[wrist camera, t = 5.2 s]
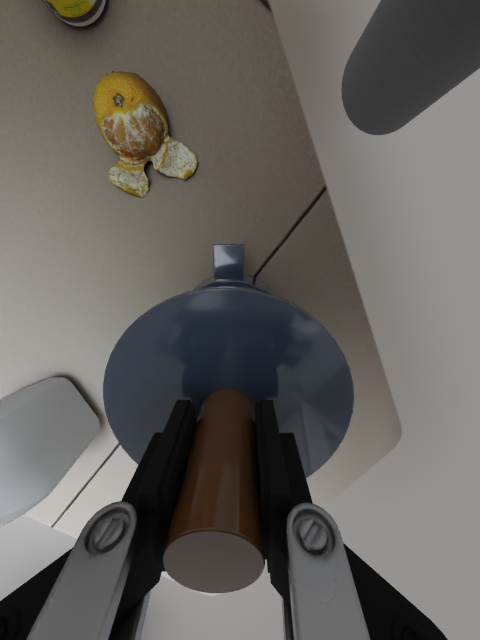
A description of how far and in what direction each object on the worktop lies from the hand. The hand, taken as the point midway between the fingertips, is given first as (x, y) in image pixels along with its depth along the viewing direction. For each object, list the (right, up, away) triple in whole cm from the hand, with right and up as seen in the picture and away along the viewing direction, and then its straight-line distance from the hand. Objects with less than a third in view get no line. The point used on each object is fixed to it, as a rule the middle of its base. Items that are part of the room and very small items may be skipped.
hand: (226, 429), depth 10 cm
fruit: (-9, +21, +12) cm, 25 cm away
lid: (0, +1, +2) cm, 2 cm away
